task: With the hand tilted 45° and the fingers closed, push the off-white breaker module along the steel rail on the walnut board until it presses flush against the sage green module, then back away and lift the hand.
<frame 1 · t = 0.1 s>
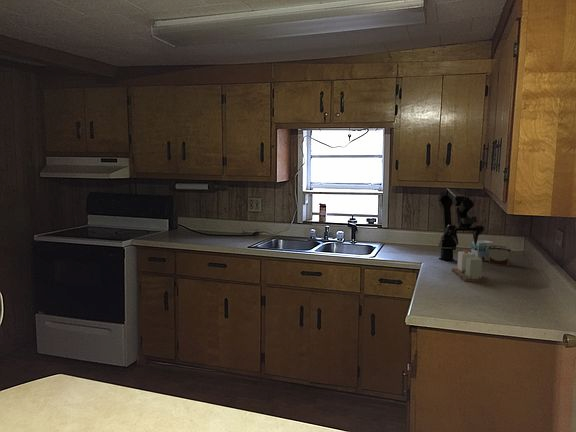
hand: (466, 244, 249), 15 cm above the worktop, tool tilted 35°, fingers open, 9 cm apart
light bulb box: (481, 259, 284), on the worktop
rail board: (467, 276, 244), on the worktop
food container: (499, 264, 274), on the worktop
installed module: (472, 280, 237), resting on rail board
breaker module: (465, 260, 249), point 7 cm above the worktop, slide at 0.0 cm
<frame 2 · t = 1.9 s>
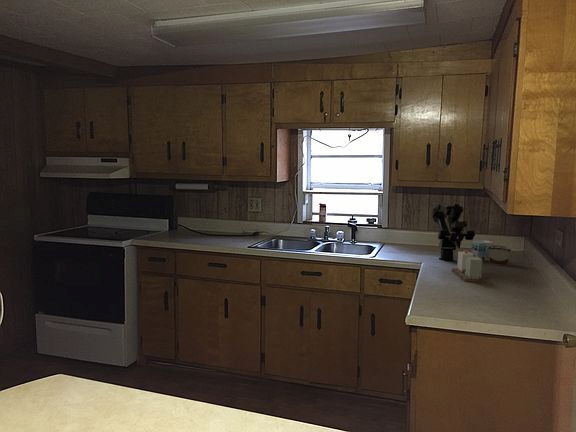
hand: (459, 247, 259), 11 cm above the worktop, tool tilted 45°, fingers closed
nothing on the worktop moved.
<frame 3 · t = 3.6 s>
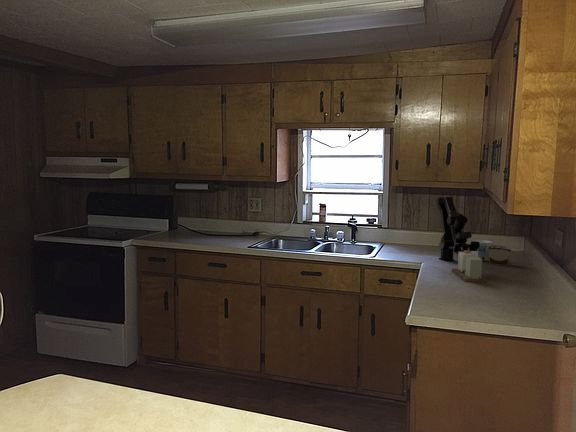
hand: (463, 259, 252), 7 cm above the worktop, tool tilted 45°, fingers closed, pressing on breaker module
breaker module: (465, 260, 248), point 7 cm above the worktop, slide at 0.6 cm, touching gripper
everything else where it was.
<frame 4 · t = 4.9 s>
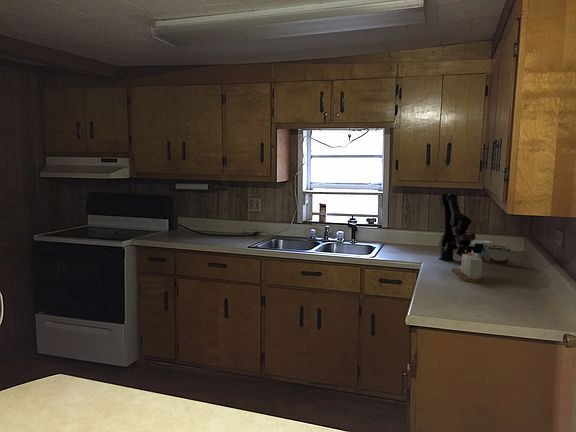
hand: (466, 261, 246), 7 cm above the worktop, tool tilted 45°, fingers closed, pressing on breaker module
breaker module: (469, 263, 242), point 7 cm above the worktop, slide at 6.3 cm, touching gripper
everything else where it was.
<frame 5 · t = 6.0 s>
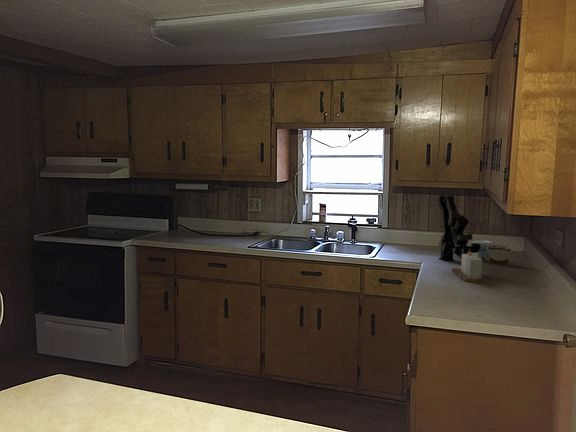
hand: (464, 261, 251), 6 cm above the worktop, tool tilted 45°, fingers closed
breaker module: (469, 262, 243), point 7 cm above the worktop, slide at 6.0 cm
everything else where it was.
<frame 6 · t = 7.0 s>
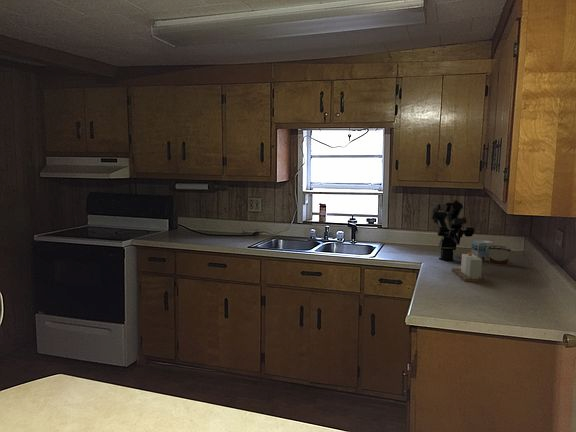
hand: (458, 244, 260), 13 cm above the worktop, tool tilted 45°, fingers closed
nothing on the worktop moved.
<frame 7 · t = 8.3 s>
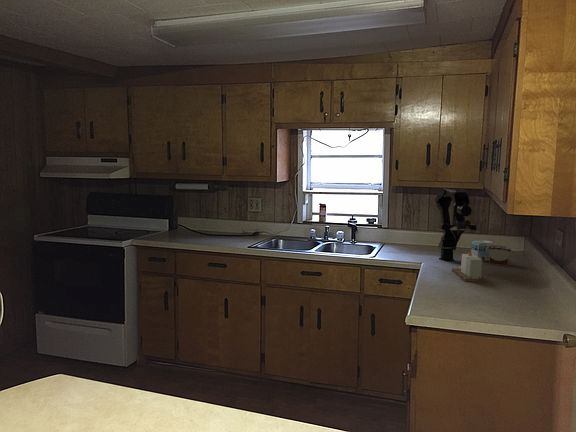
hand: (456, 242, 267), 13 cm above the worktop, tool pointing down, fingers closed
nothing on the worktop moved.
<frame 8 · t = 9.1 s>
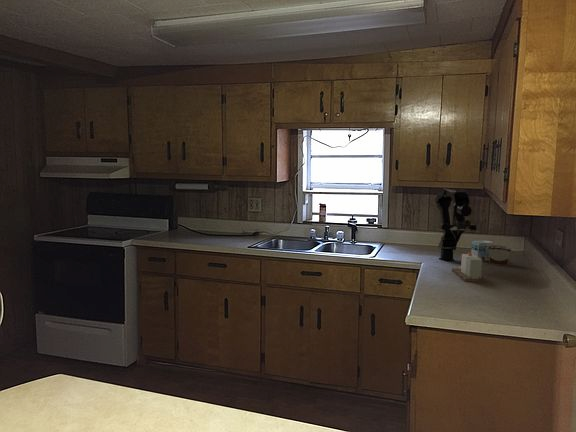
hand: (456, 242, 267), 13 cm above the worktop, tool pointing down, fingers closed
nothing on the worktop moved.
at the end: breaker module slide at 6.0 cm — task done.
